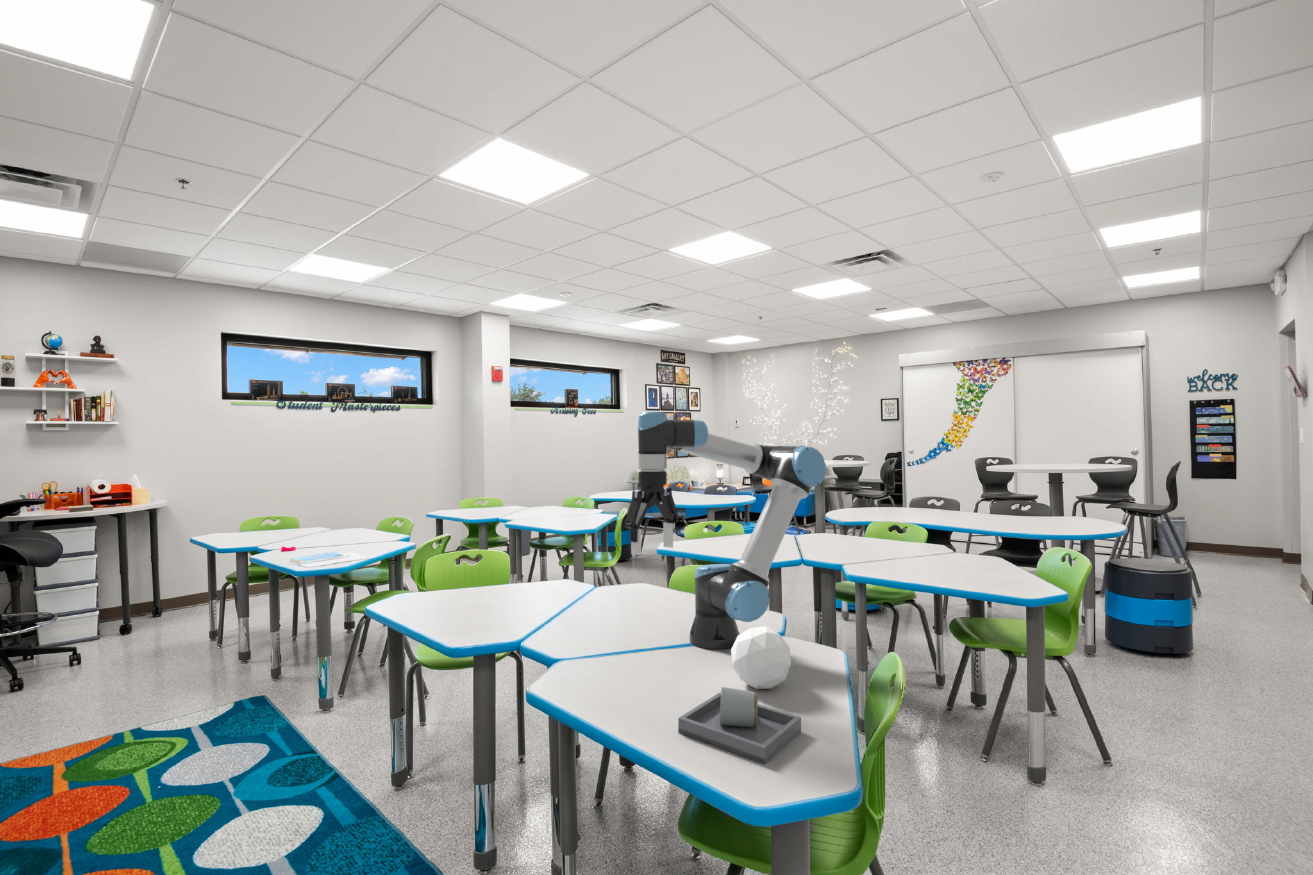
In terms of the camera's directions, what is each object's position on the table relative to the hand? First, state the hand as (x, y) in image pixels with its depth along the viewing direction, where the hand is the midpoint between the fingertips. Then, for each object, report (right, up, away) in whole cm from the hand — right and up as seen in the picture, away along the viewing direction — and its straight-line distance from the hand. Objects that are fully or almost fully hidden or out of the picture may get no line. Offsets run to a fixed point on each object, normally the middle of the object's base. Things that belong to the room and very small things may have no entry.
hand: (652, 550), depth 159 cm
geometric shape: (+27, -32, -10) cm, 43 cm away
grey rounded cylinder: (+18, -31, -31) cm, 47 cm away
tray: (+18, -31, -34) cm, 50 cm away
